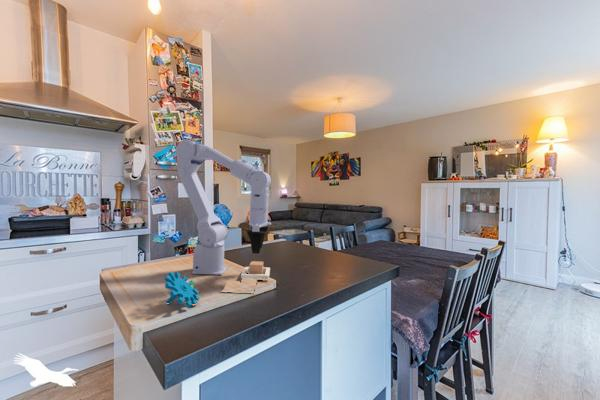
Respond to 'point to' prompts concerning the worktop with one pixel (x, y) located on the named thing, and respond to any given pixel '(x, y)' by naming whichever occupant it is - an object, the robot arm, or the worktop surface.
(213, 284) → the worktop surface
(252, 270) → the light brown wooden cube
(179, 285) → the teal spiky cog
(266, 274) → the socket
